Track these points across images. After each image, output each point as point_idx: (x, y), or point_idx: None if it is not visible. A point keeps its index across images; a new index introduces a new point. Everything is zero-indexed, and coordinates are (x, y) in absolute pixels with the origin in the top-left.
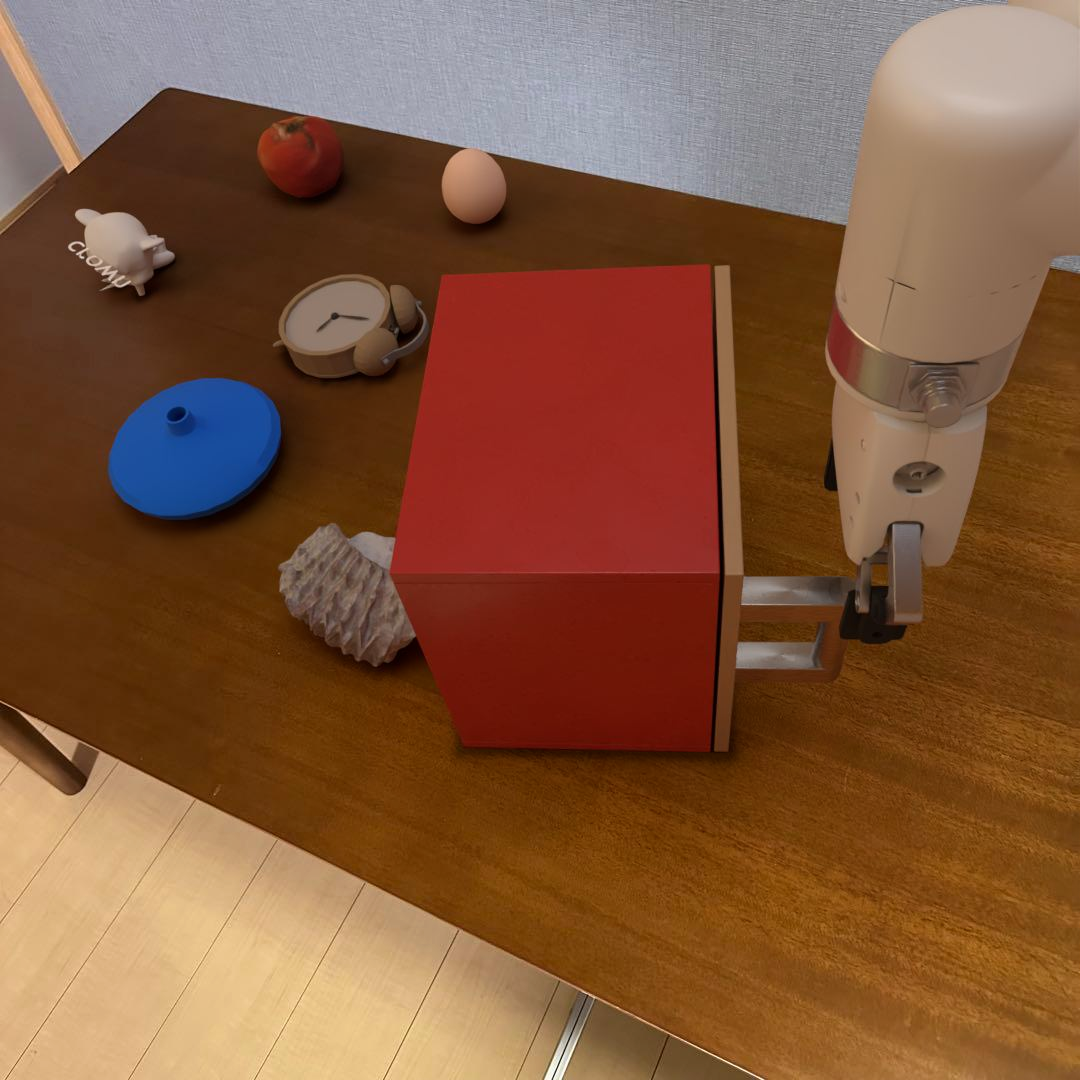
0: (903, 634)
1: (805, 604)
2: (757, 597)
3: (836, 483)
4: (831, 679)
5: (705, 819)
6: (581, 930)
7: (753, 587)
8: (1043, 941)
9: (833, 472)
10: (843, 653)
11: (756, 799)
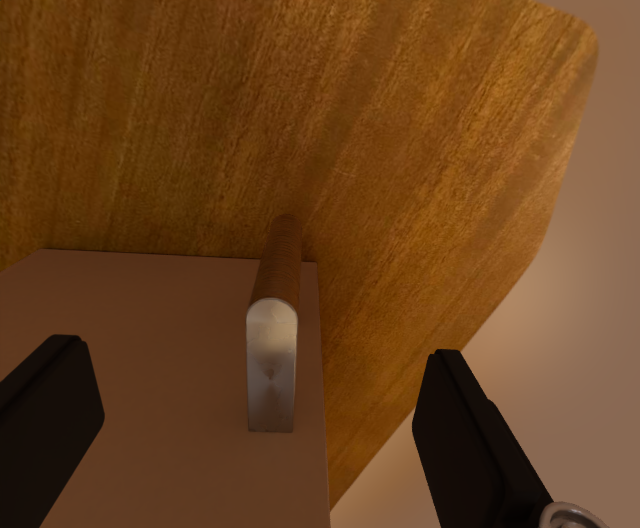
0: (462, 358)
1: (294, 366)
2: (281, 414)
3: (89, 430)
4: (301, 227)
5: (368, 280)
6: (431, 352)
7: (265, 417)
8: (508, 22)
9: (68, 471)
10: (295, 239)
11: (356, 244)
